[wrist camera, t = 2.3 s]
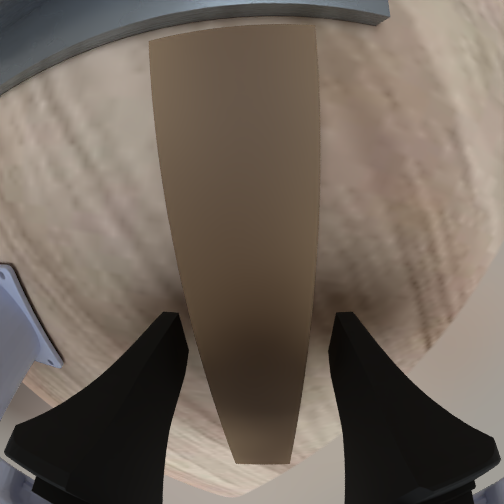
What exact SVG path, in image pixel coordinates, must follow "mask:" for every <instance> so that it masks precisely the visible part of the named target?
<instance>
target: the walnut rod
mask: <svg viewBox="0 0 504 504" xmlns="http://www.w3.org/2000/svg"><path fill="white" fill-rule="evenodd" d="M149 58H150V75H151V89H152V101H153V111H154V121H155V130H156V139H157V147H158V155H159V162H160V169H161V176H162V183H163V189H164V195H165V201H166V207H167V213H168V218H169V224H170V229H171V235H172V240H173V245H174V250H175V255H176V260H177V264H178V269H179V274H180V278H181V282H182V287H183V291H184V295H185V300H186V304H187V308H188V312H189V316H190V320H191V324H192V328H193V331H194V335H195V339H196V343H197V346H198V350H199V354H200V357H201V361H202V364H203V367H204V371H205V374H206V378H207V381H208V384H209V387H210V391H211V394H212V397H213V400H214V403H215V406H216V409H217V412H218V415H219V418H220V421H221V424H222V427H223V430H224V433H225V436H226V439H227V441H228V444H229V447H230V450H231V452H232V455H233V458H234V460H235V463H236V464H290V459H291V454H292V449H293V444H294V438H295V433H296V427H297V421H298V416H299V409H300V403H301V397H302V390H303V383H304V376H305V369H306V362H307V354H308V346H309V337H310V328H311V319H312V309H313V298H314V286H315V274H316V260H317V244H318V225H319V199H320V98H319V74H318V57H317V43H316V30H315V25H297V24H268V25H246V26H234V27H224V28H215V29H208V30H201V31H194V32H189V33H183V34H178V35H173V36H168V37H164V38H159V39H155V40H151V41H149Z"/></svg>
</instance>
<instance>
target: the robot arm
mask: <svg viewBox="0 0 504 504" xmlns="http://www.w3.org/2000/svg"><path fill="white" fill-rule="evenodd" d="M188 353H189V349H188V345H187V342H186V338H185V335H184V331H183V327H182V324H181V320H180V316H179V313H174V312H163V313H162V314H161V315H160V316H159V317H158V318H157V319H156V320H155V321H154V322H153V323H152V324H151V325H150V326H149V328H148V329H147V330H146V331H145V332H144V333H143V334H142V335H141V336H140V337H139V338H138V340H137V341H136V342H135V343H134V344H133V345H132V346H131V347H130V348H129V349H128V350H127V351H126V352H125V353H124V354H123V355H122V356H121V357H120V358H119V359H118V360H117V361H116V362H115V363H114V364H113V365H112V366H111V367H110V368H109V369H107V370H106V371H105V372H104V373H103V374H102V375H101V376H99V377H98V378H97V379H96V380H94V381H93V382H92V383H91V384H89V385H88V386H87V387H85V388H84V389H83V390H81V391H80V392H78V393H77V394H75V395H74V396H72V397H71V398H69V399H68V400H66V401H65V402H63V403H62V404H60V405H58V406H56V407H55V408H53V409H51V410H49V411H47V412H45V413H43V414H41V415H39V416H37V417H35V418H33V419H30V420H28V421H26V422H23V423H20V424H18V425H16V426H15V428H14V430H13V433H12V435H11V437H10V439H9V441H8V444H7V446H6V448H5V451H4V453H5V455H6V456H7V457H9V458H10V459H11V460H13V461H14V462H16V463H17V464H19V465H20V466H22V467H23V468H25V469H26V470H28V471H29V472H31V473H32V474H34V475H35V476H36V479H35V480H33V479H32V478H30V477H29V476H27V475H25V474H24V473H22V472H21V471H19V470H17V469H16V468H14V467H13V466H11V465H10V464H8V463H7V462H6V461H4V460H3V459H2V458H0V504H162V502H163V497H162V496H163V478H164V467H165V457H166V449H167V442H168V436H169V430H170V426H171V422H172V418H173V415H174V411H175V408H176V404H177V401H178V397H179V394H180V390H181V387H182V383H183V380H184V376H185V372H186V366H187V360H188ZM328 354H329V364H330V373H331V379H332V383H333V388H334V393H335V397H336V402H337V406H338V411H339V416H340V421H341V426H342V432H343V443H344V457H345V504H504V478H502V479H500V480H499V481H498V482H495V483H494V484H492V485H490V486H488V487H486V488H485V489H483V490H481V491H479V492H478V493H476V494H474V495H472V491H471V490H473V489H475V487H476V485H475V481H474V480H475V479H477V478H478V477H480V476H481V475H483V474H485V473H486V472H488V471H489V470H491V469H492V468H494V467H495V466H496V465H498V464H499V462H500V460H501V458H500V455H499V452H498V449H497V446H496V443H495V440H494V438H493V437H490V436H489V435H487V434H485V433H483V432H481V431H479V430H477V429H475V428H473V427H471V426H469V425H468V424H466V423H464V422H463V421H461V420H460V419H458V418H457V417H455V416H453V415H452V414H451V413H449V412H448V411H447V410H445V409H444V408H442V407H441V406H440V405H438V404H437V403H436V402H435V401H433V400H432V399H431V398H430V397H428V396H427V395H426V394H425V393H424V392H423V391H421V390H420V389H419V388H418V387H417V386H416V385H415V384H414V383H413V382H412V381H411V380H410V379H409V378H408V377H407V376H406V375H405V374H404V373H403V372H402V371H401V370H400V369H399V368H398V367H397V366H396V364H395V363H394V362H393V361H392V360H391V359H390V358H389V357H388V355H387V354H386V353H385V352H384V351H383V349H382V348H381V347H380V346H379V345H378V343H377V342H376V341H375V340H374V338H373V337H372V336H371V335H370V333H369V332H368V331H367V329H366V328H365V327H364V326H363V324H362V323H361V322H360V320H359V319H358V318H357V316H356V315H355V314H354V313H353V312H337V313H336V316H335V321H334V326H333V331H332V336H331V340H330V345H329V350H328ZM34 361H37V362H40V363H44V364H47V365H50V366H53V367H57V368H62V366H63V361H62V360H61V358H60V356H59V355H58V353H57V352H56V350H55V349H54V347H53V345H52V344H51V342H50V340H49V339H48V337H47V335H46V334H45V332H44V330H43V328H42V327H41V325H40V323H39V321H38V319H37V318H36V316H35V314H34V312H33V310H32V308H31V306H30V304H29V302H28V300H27V298H26V296H25V294H24V292H23V290H22V288H21V285H20V283H19V281H18V279H17V276H16V274H15V272H14V270H13V269H12V267H11V266H9V265H1V264H0V421H1V419H2V417H3V415H4V413H5V411H6V409H7V407H8V405H9V403H10V401H11V399H12V398H13V396H14V394H15V392H16V390H17V389H18V387H19V385H20V384H21V382H22V380H23V378H24V377H25V375H26V373H27V372H28V370H29V369H30V367H31V365H32V364H33V362H34Z"/></svg>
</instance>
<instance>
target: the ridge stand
mask: <svg viewBox="0 0 504 504" xmlns="http://www.w3.org/2000/svg"><path fill="white" fill-rule="evenodd" d="M245 16H304V17H318V18H329V19H337V20H345V21H352V22H358V23H364V24H369V25H375V26H376V25H378V24H379V23H381V22H383V21H384V20H386V19H387V18H389V17H390V12H389V4H388V0H0V95H1V94H3V93H4V92H6V91H8V90H9V89H11V88H12V87H14V86H16V85H17V84H19V83H21V82H23V81H24V80H26V79H28V78H30V77H31V76H33V75H35V74H37V73H39V72H41V71H43V70H45V69H47V68H49V67H51V66H53V65H55V64H57V63H59V62H61V61H64V60H66V59H68V58H70V57H73V56H75V55H77V54H80V53H82V52H85V51H87V50H90V49H93V48H95V47H98V46H101V45H104V44H106V43H109V42H112V41H115V40H119V39H122V38H125V37H128V36H132V35H135V34H139V33H143V32H147V31H151V30H155V29H159V28H164V27H169V26H174V25H179V24H184V23H190V22H197V21H204V20H211V19H220V18H231V17H245Z"/></svg>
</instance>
